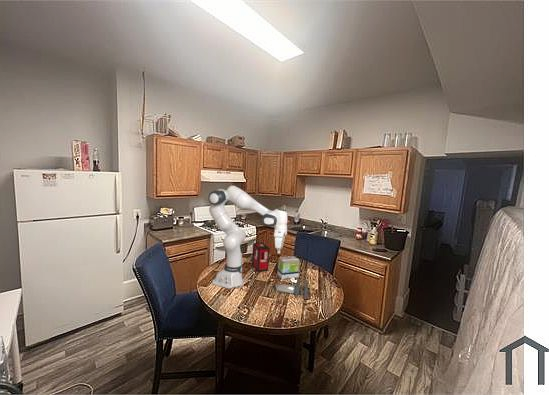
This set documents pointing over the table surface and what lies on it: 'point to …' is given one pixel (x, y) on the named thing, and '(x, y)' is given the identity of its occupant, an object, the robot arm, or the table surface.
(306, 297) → the collars
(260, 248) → the cleaning product box
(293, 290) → the tube
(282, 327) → the table surface
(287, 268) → the tea box
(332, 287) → the table surface
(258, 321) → the table surface
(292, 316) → the table surface
